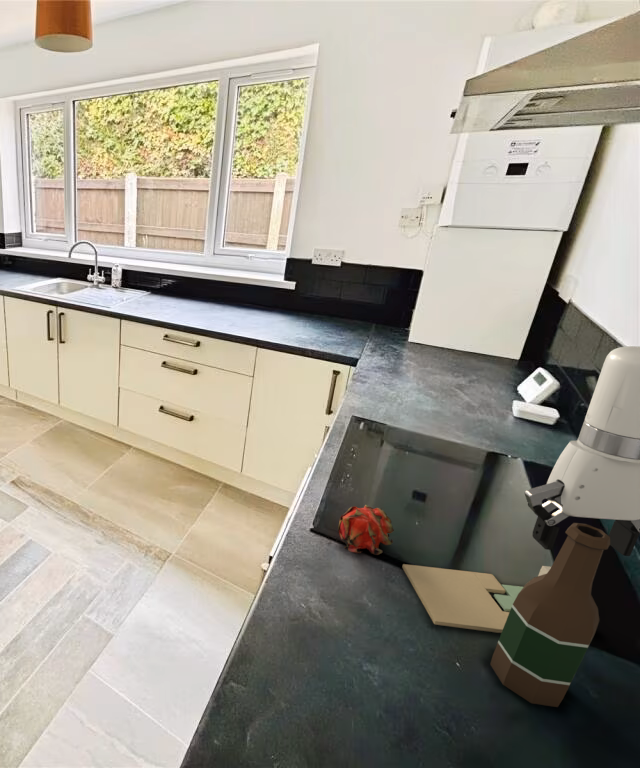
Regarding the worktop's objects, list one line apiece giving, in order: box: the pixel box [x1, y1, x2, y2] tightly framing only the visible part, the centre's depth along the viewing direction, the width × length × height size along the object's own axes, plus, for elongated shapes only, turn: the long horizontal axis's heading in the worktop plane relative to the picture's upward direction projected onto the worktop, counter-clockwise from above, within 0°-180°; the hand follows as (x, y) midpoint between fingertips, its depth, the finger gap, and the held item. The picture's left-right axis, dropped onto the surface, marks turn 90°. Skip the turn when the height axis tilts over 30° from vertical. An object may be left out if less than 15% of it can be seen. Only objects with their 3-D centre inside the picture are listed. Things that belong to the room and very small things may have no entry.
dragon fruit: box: [337, 504, 395, 556], centre depth 83 cm, size 8×8×12 cm
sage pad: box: [493, 565, 552, 612], centre depth 70 cm, size 10×8×7 cm
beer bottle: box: [489, 522, 611, 708], centre depth 56 cm, size 8×8×24 cm
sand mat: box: [401, 563, 509, 634], centre depth 72 cm, size 14×12×1 cm
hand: (579, 546), depth 66 cm, fingers open, 9 cm apart
